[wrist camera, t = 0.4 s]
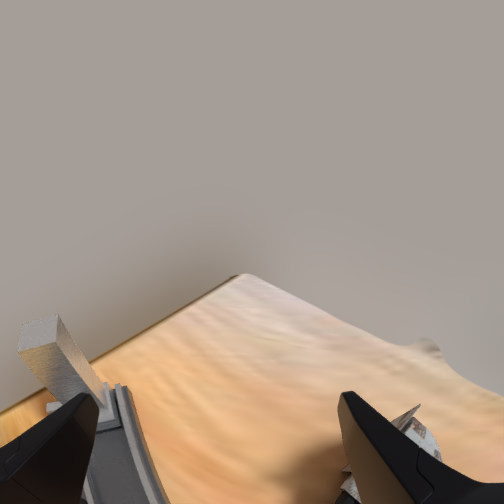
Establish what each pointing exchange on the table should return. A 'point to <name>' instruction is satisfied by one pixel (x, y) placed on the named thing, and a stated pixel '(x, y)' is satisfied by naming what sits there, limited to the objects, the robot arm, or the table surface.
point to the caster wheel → (410, 427)
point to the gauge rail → (122, 462)
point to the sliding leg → (64, 368)
